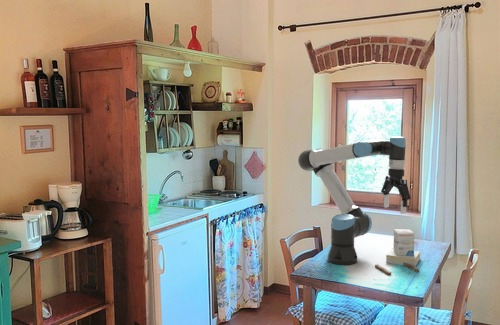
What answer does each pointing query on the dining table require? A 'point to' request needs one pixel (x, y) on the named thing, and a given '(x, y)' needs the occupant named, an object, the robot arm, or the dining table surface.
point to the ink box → (403, 242)
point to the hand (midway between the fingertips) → (394, 210)
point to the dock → (402, 258)
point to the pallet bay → (390, 272)
